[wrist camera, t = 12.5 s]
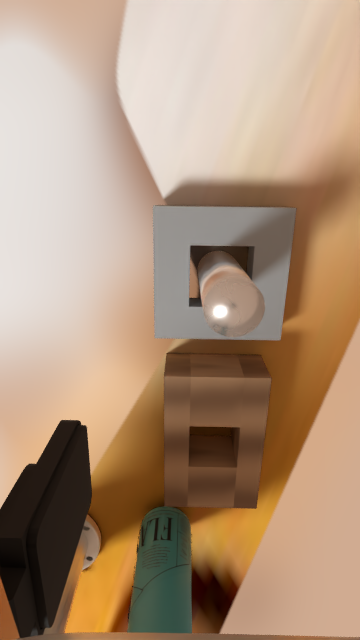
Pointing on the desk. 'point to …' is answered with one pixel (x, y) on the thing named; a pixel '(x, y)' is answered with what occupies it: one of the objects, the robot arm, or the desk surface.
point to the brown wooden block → (214, 411)
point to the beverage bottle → (162, 574)
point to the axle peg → (228, 295)
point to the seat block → (219, 230)
